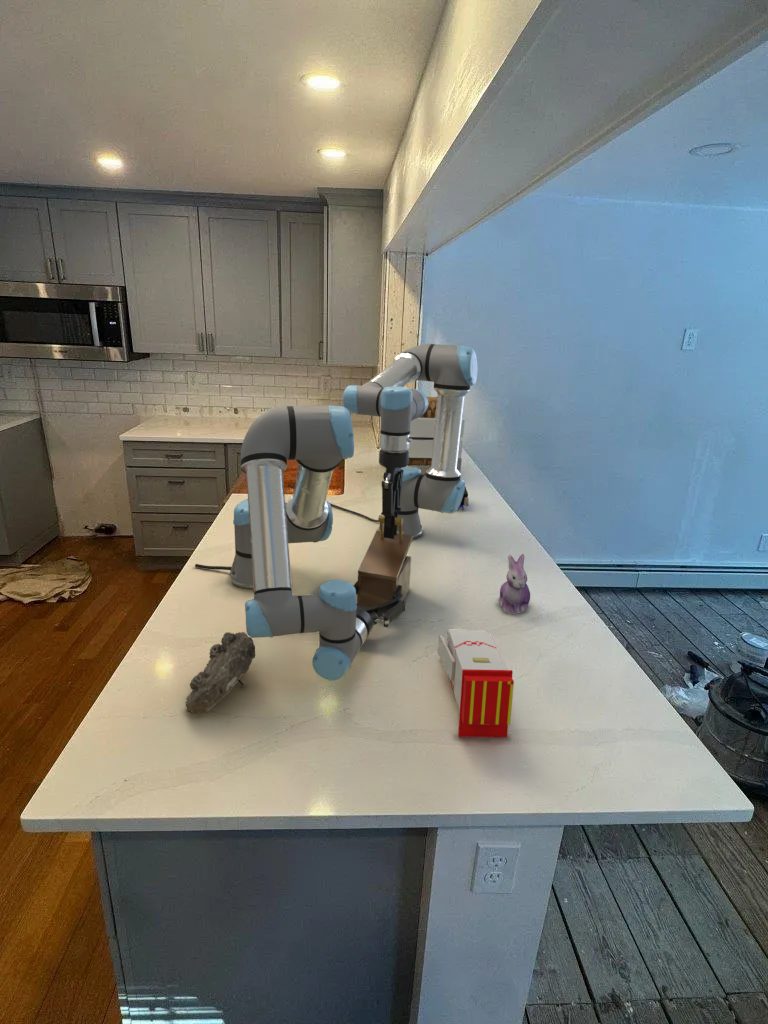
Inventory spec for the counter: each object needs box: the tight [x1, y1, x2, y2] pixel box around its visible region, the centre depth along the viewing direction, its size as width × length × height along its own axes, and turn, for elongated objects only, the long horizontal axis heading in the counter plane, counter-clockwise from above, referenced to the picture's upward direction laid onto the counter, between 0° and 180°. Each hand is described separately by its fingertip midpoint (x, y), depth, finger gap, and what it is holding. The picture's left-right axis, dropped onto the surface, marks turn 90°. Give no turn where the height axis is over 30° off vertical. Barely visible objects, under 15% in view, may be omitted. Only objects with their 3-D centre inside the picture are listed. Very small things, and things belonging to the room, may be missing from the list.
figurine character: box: [459, 486, 470, 511], centre depth 230 cm, size 7×8×15 cm
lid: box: [357, 514, 413, 581], centre depth 147 cm, size 17×10×9 cm, turn 164°
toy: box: [437, 628, 515, 738], centre depth 117 cm, size 12×13×30 cm
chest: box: [356, 555, 412, 607], centre depth 152 cm, size 16×10×10 cm, turn 164°
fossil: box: [185, 631, 256, 715], centre depth 116 cm, size 22×10×15 cm
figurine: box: [498, 553, 531, 615], centre depth 151 cm, size 9×10×15 cm
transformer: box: [406, 396, 465, 474], centre depth 268 cm, size 34×33×41 cm
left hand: (380, 586), depth 148 cm, fingers closed on chest, 10 cm apart
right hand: (390, 535), depth 151 cm, fingers closed on lid, 2 cm apart
